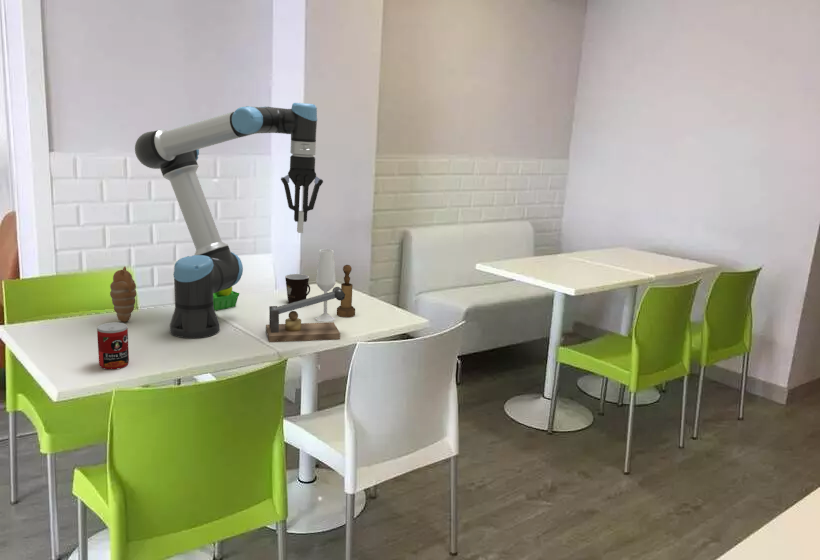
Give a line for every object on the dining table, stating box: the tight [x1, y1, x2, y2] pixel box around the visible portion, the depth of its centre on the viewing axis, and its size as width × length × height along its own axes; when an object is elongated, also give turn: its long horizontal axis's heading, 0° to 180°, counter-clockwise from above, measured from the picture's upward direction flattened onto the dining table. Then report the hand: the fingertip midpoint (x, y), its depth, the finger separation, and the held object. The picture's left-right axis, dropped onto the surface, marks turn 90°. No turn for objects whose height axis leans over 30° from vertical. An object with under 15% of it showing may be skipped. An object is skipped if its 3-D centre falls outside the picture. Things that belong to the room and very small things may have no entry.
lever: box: [270, 286, 345, 315], centre depth 230 cm, size 24×6×3 cm, turn 105°
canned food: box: [96, 321, 130, 370], centre depth 198 cm, size 8×8×11 cm
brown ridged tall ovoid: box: [109, 266, 137, 323], centre depth 235 cm, size 9×8×18 cm
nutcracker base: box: [265, 305, 341, 343], centre depth 231 cm, size 22×12×9 cm, turn 106°
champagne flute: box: [315, 248, 337, 323], centre depth 248 cm, size 7×7×24 cm
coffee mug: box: [284, 273, 311, 304], centre depth 267 cm, size 12×9×10 cm
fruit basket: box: [213, 286, 240, 311], centre depth 257 cm, size 11×9×11 cm
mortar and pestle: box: [336, 264, 356, 318], centre depth 255 cm, size 7×6×18 cm
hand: (300, 231), depth 226 cm, fingers closed
